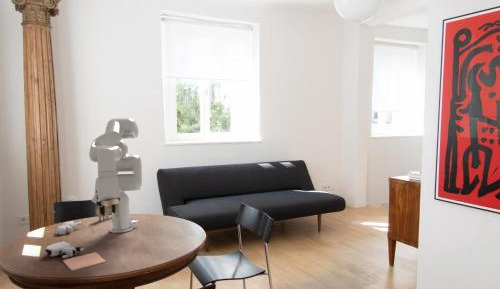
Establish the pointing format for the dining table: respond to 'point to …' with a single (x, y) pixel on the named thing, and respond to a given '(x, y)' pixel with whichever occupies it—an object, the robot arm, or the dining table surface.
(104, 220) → the lion figurine
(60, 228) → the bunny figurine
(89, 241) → the dining table surface
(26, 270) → the dining table surface
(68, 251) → the robot toy
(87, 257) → the terracotta mat
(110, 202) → the birch stool
